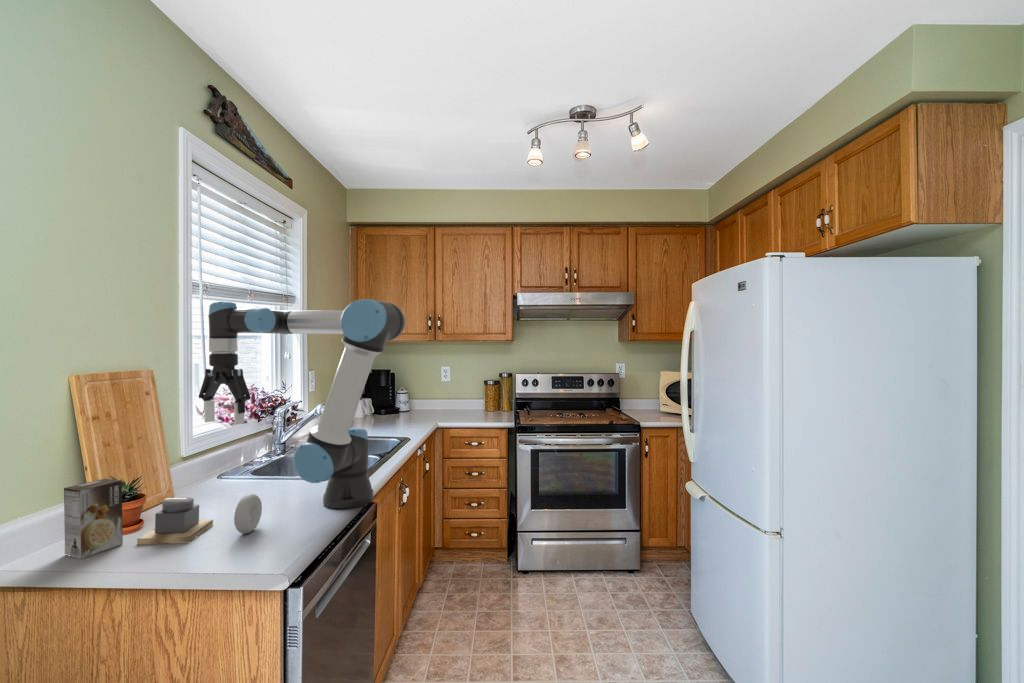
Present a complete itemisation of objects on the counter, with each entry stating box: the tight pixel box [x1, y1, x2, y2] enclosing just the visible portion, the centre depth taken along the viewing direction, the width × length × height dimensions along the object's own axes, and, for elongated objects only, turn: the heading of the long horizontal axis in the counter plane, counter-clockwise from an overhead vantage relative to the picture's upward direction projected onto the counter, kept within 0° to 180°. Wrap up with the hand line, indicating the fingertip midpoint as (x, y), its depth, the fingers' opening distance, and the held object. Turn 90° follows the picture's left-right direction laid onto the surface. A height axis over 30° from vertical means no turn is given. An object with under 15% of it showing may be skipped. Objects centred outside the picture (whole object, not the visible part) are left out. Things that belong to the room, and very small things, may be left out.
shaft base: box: [136, 519, 214, 546], centre depth 129 cm, size 12×12×6 cm
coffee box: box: [63, 478, 124, 559], centre depth 119 cm, size 9×6×16 cm
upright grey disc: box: [233, 493, 263, 535], centre depth 130 cm, size 10×4×10 cm, turn 0°
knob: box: [154, 496, 200, 533], centre depth 129 cm, size 7×7×8 cm
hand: (224, 423), depth 150 cm, fingers open, 13 cm apart
